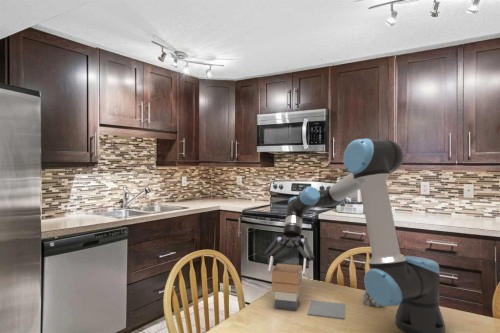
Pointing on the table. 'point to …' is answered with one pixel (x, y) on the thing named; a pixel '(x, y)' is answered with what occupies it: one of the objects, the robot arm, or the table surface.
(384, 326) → the table surface
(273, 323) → the table surface
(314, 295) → the table surface
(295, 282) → the wooden block stack
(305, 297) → the table surface
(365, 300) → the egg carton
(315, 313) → the rubber mat
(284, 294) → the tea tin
